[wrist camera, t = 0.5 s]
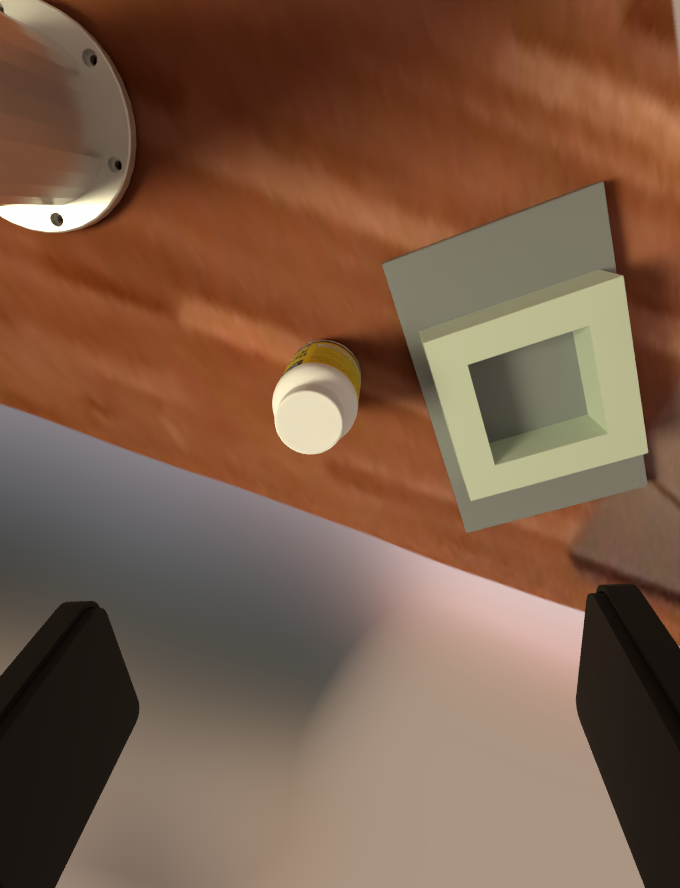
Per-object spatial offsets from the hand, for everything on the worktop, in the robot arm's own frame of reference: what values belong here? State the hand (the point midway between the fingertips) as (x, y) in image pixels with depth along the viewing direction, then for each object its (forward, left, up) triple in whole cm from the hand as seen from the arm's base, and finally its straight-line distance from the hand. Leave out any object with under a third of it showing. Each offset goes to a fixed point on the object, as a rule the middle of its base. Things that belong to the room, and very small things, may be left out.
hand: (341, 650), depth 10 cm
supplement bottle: (-1, -4, -30) cm, 30 cm away
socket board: (+12, +2, -29) cm, 32 cm away
